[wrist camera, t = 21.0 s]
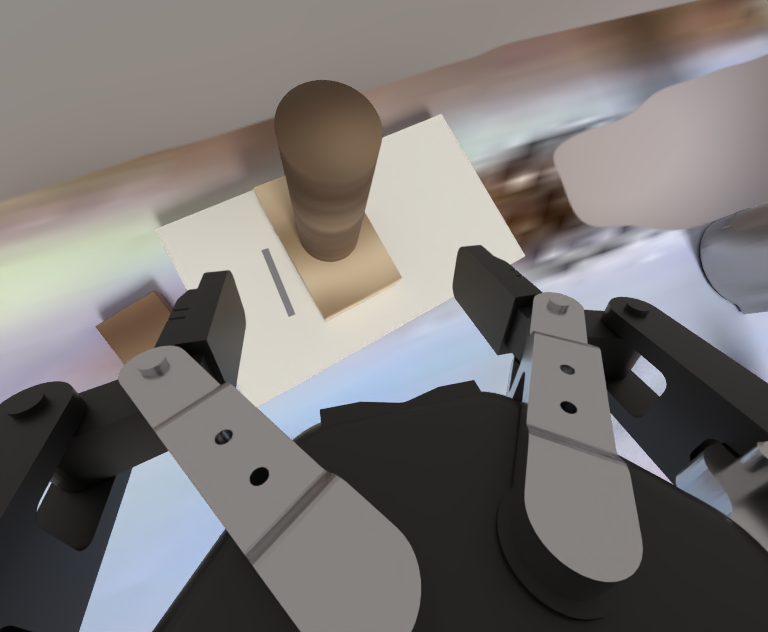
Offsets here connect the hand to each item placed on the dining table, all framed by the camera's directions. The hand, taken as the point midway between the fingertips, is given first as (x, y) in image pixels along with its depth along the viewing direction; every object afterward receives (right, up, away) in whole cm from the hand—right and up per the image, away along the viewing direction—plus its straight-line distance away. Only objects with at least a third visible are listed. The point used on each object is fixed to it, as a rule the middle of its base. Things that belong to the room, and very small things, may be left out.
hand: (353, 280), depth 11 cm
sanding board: (-1, +4, +14) cm, 15 cm away
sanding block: (-3, +4, +12) cm, 13 cm away
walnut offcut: (-15, -3, +11) cm, 19 cm away
